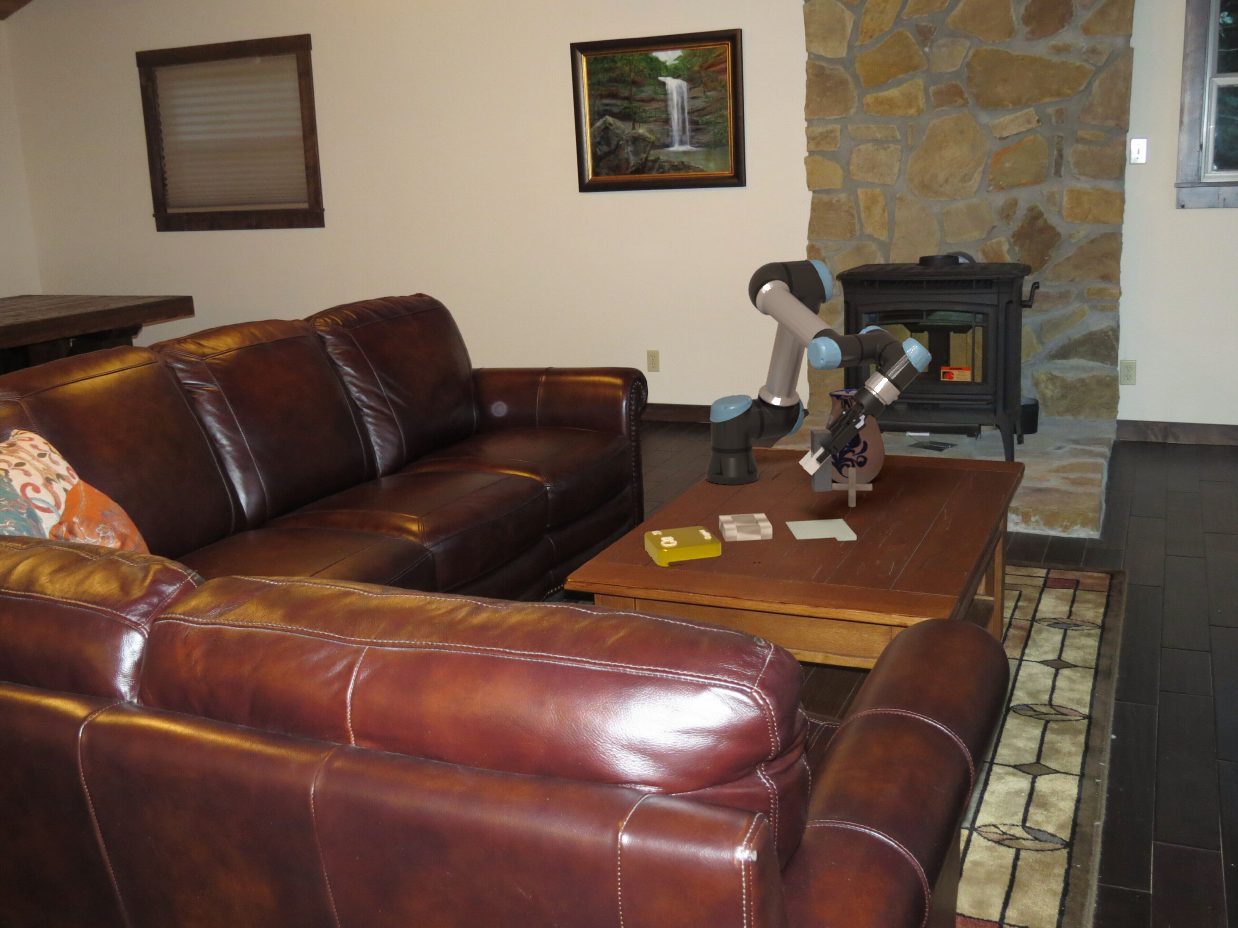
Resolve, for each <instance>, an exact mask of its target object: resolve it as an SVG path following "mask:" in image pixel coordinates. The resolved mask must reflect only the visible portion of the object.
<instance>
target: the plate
mask: <svg viewBox="0 0 1238 928" xmlns="http://www.w3.org/2000/svg"><path fill="white" fill-rule="evenodd" d="M785 524H786V525H787V527H788V529H789V530H790V531H791V533H792V534H793V536H794V537H795V539H796V540H808V539H809V540H811V539H826V538H828V539H829V538H835V539H836V540H837V542H842V541H843V542H844V541H846V542H847V541H857V538H858V537H857V534H856V533H855V532H854V530H852V529H851V527H850V526H849V525H848V524H847V522H846V521H844V519H843V518H836V519H818V520H817V519H815V520H814V519H813V520H799V521H798V520H797V521H785Z"/></svg>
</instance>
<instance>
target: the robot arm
mask: <svg viewBox="0 0 1238 928" xmlns="http://www.w3.org/2000/svg"><path fill="white" fill-rule="evenodd" d="M833 294H834V280H833V276H832V273H831V271H830V268H829V267H828V265H827V264H826V263H825V262H824V261H822V260H820V259H809V258H807V259H804V260H803V259H802V260H791V261H778V262H777V261H773V262H772V261H771V262H768V263H765V264H764V265H761V266H760V267H759V268H757V269H756V270H755V271H754V273H753V274H752V276H751V278H750V279H749V283H748V297H749V300H750V302H751V304H752V305H753V307H754V308H755V309H756V310H757V311H759V313H760V314H762V315H765V316H771V318H772V319H773V320H775V321H776V323H777V328H776V332H775V338H774V343H773V348H772V352H771V356H770V357H771V359H770V362H769V368H768V371H767V377H766V381H765V384H763V385H761V387H760V388H759V390H758V395H757V397H756V398H752V396H750V395H748V394H736V395H734V394H733V395H727V396H723V397H721V398H718V399H716V400H715V401H713V403H711V405H710V414H709V416H710V417H709V420H710V446H711V447H710V449H711V454H710V456H709V461H708V463H707V467H706V470H705V480H706V479H708V480H706V481H707V482H709V481H710V482H709V483H711V482H713V483H712V484H715V483H718V484H717V485H723V484H726V486H727V485H729V486H733V485H734V486H736V485H746V484H747V485H748V484H751V483H754V482H756V481H759V479H760V471H759V468H758V467H759V466H758V464H757V461H756V458H755V455H754V453H753V441H758V440H764V439H772V438H784V437H786V436H791V435H794V434H796V433H797V432H799V430H800V429H801V427H802V425H803V423H804V419H805V411H804V410H805V407H804V402H803V401H802V399H801V397H800V395H799V393H798V391H796V390H797V386H798V382H799V377H800V372H801V369H802V365H803V364H802V363H803V359H804V355H805V349H807V358H808V361H809V362H810V366H811V367H812V368H813V369H815V370H818V371H820V370H827V371H832V370H835V369H836V370H838V369H843V368H844V369H845V368H851V367H853V368H854V367H860V366H869V365H870V366H871V365H876V366H878V367H879V368H878V369H877V370H876V371H875V372H873V374H872V375H871V376H870V377H869V378H868V379H867V380H866V381H865V382H864V385H865V386H860V388H858V389H859V390H858V391H857V392H856V393H855V394H854V395H853V399H854V400H855V401H856V404H855V405H854V406H852V407H851V408H849V409H847V408H844V409H843V411H842V412H841V413H840V415H839V416H838V417H837V418H836V419H835V420H834V421H833V422H832V423H831V424H830V425H829V426H828V427H827V429H828V430H829V431H830V432H831V433H832V439H831V440H830V441H829V442H828V443H827V445H825V444H822V448H821V449H820V450H819V451H818V452H817V453H816V454H815V455H814V456H813V457H812V458H811V449H810V450H809V451H808V452H807V453H806V454H805V455H804V456H803V457H802V458H801V459H800V460H799V461H798V463H799V464H800V466H802V468H803V469H804V470H805V471H806V473H808V474H809V475H810V476H811V475H812V474H813V473H814V472H815V471H816V470H817V469H818V468H819V467H820V466H821V465H822V464H823V463H824V462H825V461H826V460H827V459H828V458H829V457H830V456H831V455H833V454H835V455H837V454H838V453H839V452H840V451H841V450H842V449H843V448H844V447H845V446H846V445H847V444H848V443H849V442H850V441H851V439H852V438H853V437H854V436H855V435H856V434H857V433H858V432H860V431H861V430H862V429H863V428H865V427H866V424H865V423H864V422H865V420H866V419H867V417H868V416H869V415H871V416H872V417H873V418H876V419H877V418H879V416H880V415H881V414H882V413H883V412H884V411H885V410H886V405H887V406H889V405H890V404H891V403H892V402H893V401H897V400H898V399H899V397H898V396H899V395H900V394H901V393H902V392H903V391H905V389H906V388H907V387H908V386H909V385H910V384H911V383H912V382H913V381H914V380H915V379H916V378H917V377H918V376H919V375H920V374H921V373H922V372H923V371H924V370H925V369H926V367H928V365H929V363H930V362H931V361H932V353H930V351H929V350H928V349H927V348H926V347H924V346H923V345H922V344H921V342H919V341H918V340H916V339H915V338H912V337H909V338H907V339H906V340H904V341H903V342H902V341H900V340H899V339H898V338H896V337H895V336H893V334H891V333H890V332H889V331H888V330H885V329H884V328H881V327H880V326H877V325H870V326H869V325H868V326H867V327H865V328H863V329H862V330H861V331H860V332H859V333H856V334H844V335H843V334H840V333H838V332H837V331H836V330H834V329H833V328H832V327H831V326H830V325H829V324H827V323H826V322H825V321H824V320H823V319H821V317H819V316H818V315H819V313H820V310H821V306H822V304H826V303H828V302H829V301H831V299H832V297H833ZM830 454H831V455H830Z"/></svg>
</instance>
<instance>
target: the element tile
mask: <svg viewBox="0 0 1238 928" xmlns="http://www.w3.org/2000/svg"><path fill="white" fill-rule="evenodd" d="M644 550H645V552H646V551H647V552H648V553H647V552H646V553H647V554H648V555H649V557H650V558H651V557H652V558H651V559H652V560H653V562H654V563H655V564H656V565H657V566H660V567H674V566H682V565H685V563H681V564H670V563H671V562H673V563H674V562H680V561H688V560H689V561H690V560H698V559H706V558H714V557H718V556H721V555H722V541H721V540H720V539H719V538H717V537H716V536H715V535H714V533H712V532H711V531H710V530H709V529H708V528H707V527H706V526H703V525H695V526H687V527H677V528H667V529H657V530H649V531H646V532H645V533H644Z"/></svg>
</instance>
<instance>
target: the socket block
mask: <svg viewBox="0 0 1238 928" xmlns="http://www.w3.org/2000/svg"><path fill="white" fill-rule="evenodd" d="M718 528H719V531H720V533H721V535H722V536H723V539H724V542H736V541H737V542H740V541H755V540H756V541H757V540H772V539H773V526H772V524H771V522H770V521H769V519H768V518H767V516H766V514H765V512H762V513H761V512H759V513H744V514H743V513H741V514H740V513H739V514H725V515H721V514H720V515H718Z"/></svg>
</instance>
